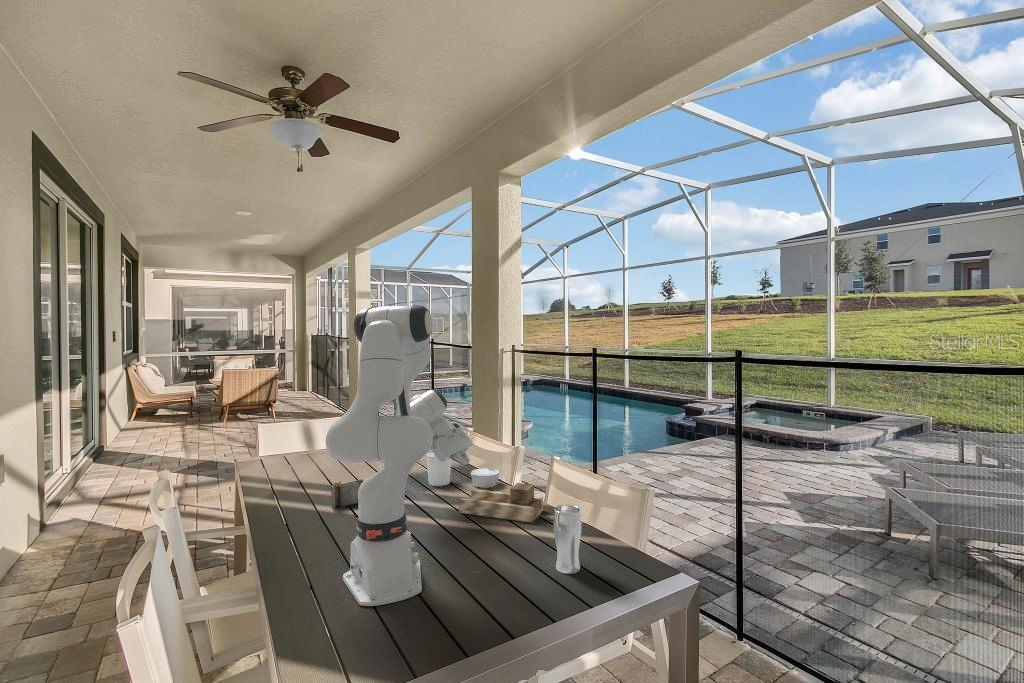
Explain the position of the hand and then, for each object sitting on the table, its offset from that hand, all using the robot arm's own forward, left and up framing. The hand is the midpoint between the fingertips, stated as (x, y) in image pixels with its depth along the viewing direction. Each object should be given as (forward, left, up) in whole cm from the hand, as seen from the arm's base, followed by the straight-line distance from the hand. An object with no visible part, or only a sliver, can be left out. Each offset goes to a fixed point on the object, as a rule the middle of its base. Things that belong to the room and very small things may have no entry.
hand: (466, 463), depth 164 cm
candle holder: (+31, +2, -15) cm, 35 cm away
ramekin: (+21, -14, -15) cm, 30 cm away
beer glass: (-52, -9, -15) cm, 55 cm away
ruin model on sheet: (+22, +37, -16) cm, 46 cm away
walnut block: (-14, -14, -14) cm, 25 cm away
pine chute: (-9, -9, -15) cm, 20 cm away
